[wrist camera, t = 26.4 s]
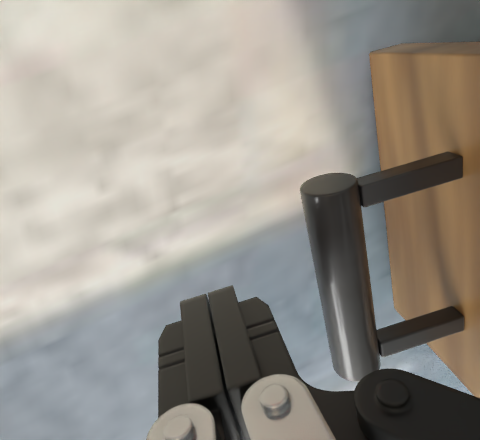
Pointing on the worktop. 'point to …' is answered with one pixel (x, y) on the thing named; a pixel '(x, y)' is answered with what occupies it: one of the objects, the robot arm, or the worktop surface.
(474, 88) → the drawer
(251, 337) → the robot arm
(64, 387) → the worktop surface
